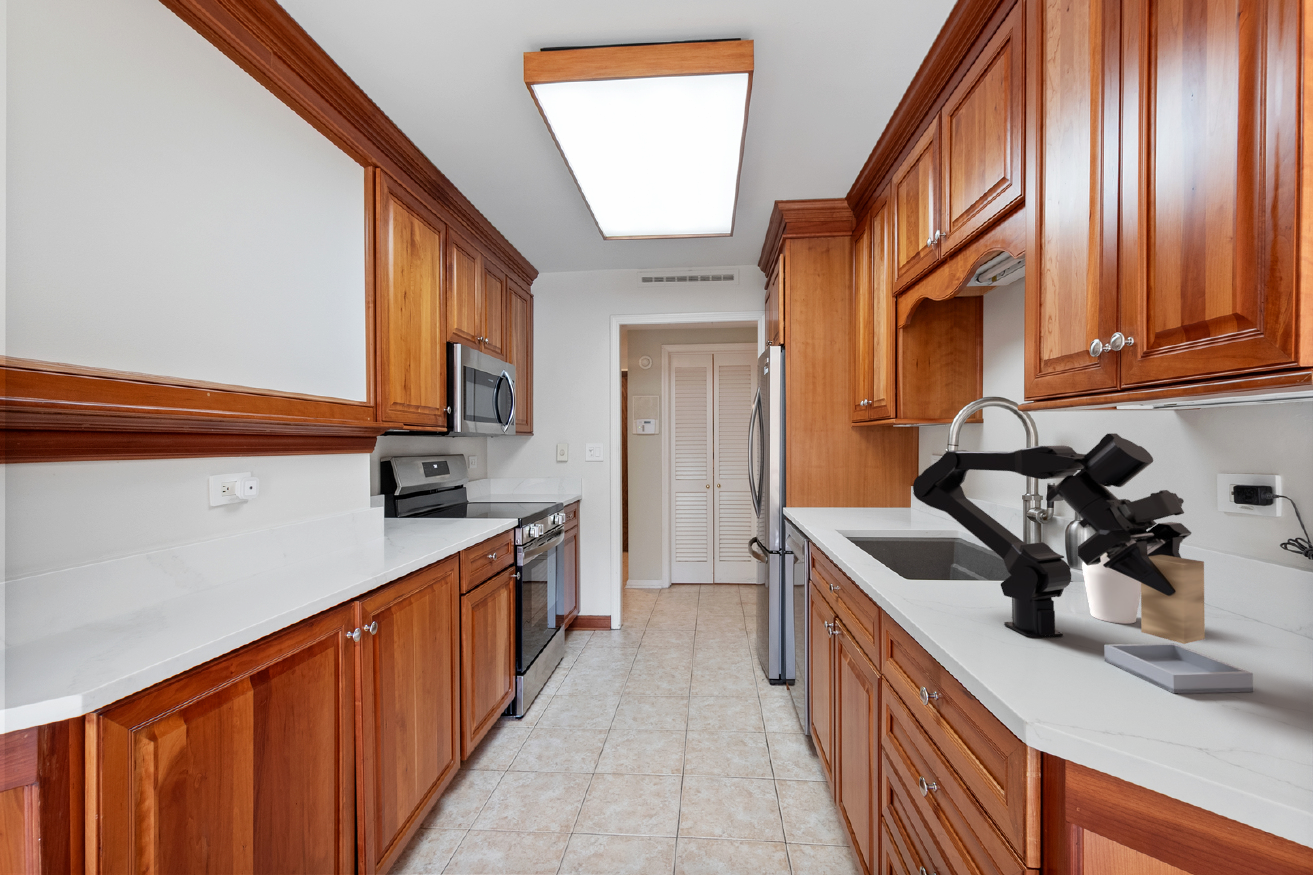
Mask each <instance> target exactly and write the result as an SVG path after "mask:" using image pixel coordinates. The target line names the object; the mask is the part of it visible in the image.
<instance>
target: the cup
mask: <svg viewBox="0 0 1313 875" xmlns="http://www.w3.org/2000/svg"><path fill="white" fill-rule="evenodd" d="M1107 555H1108V554H1107V553H1105V554H1103V555H1102V556H1100V559H1101V562H1100V563H1099V564H1095V565H1086V564H1085V563H1084V562H1083V561H1082V567H1081V568H1082V574H1083V579H1084V585H1085V590H1086V595H1087V596H1086V597H1087V601H1088V605H1089V607H1088V608H1089V612H1090V615H1091V616H1092V617H1093V618H1095V619H1097V620H1100V621H1104V622H1107V623H1115V624H1123V625H1124V624H1129V625H1131V624H1133V623H1136V622H1137V617H1138V613H1139V612H1138V611H1139V606H1140V601H1141V582H1139V581H1137V580H1135V579H1133V578H1130V577H1128V576H1126V575H1124V574H1122V573H1119V572H1117V571H1115V570H1113V569H1110V568H1105V567H1104V566H1103V564H1104V563H1106V562H1107V561H1109V560H1110V559H1109V558H1108V557H1107Z"/></svg>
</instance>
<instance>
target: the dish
mask: <svg viewBox="0 0 1313 875" xmlns="http://www.w3.org/2000/svg"><path fill="white" fill-rule="evenodd" d="M1103 647H1104V648H1103V649H1104V662H1106V663H1108V664H1110V663H1111V664H1110V665H1113V666H1115V667H1116V668H1119V669H1120V670H1123V671H1125V672H1126V673H1129V672H1130V673H1129V674H1131V673H1132V674H1131V675H1134V676H1136V677H1138V678H1139V679H1142V680H1144V681H1146V682H1148V681H1149V683H1150V682H1151V684H1152V683H1153V684H1152V685H1154V686H1157V685H1158V686H1157V687H1159V686H1160V687H1159V688H1162V689H1163V688H1164V689H1163V690H1165V689H1167V690H1168V692H1169V691H1170V692H1169V693H1171V692H1172V694H1174V693H1178V694H1207V693H1208V694H1212V693H1216V694H1218V693H1220V694H1221V693H1251V692H1254V684H1253V683H1254V676H1253V675H1254V674H1253V672H1250V671H1248V670H1246V669H1243V668H1240V667H1238V666H1235V665H1232V664H1229V663H1228V662H1227V663H1226V662H1225V661H1222V660H1219V659H1216V658H1214V657H1211V656H1208V655H1205V654H1203V653H1200V652H1197V651H1195V650H1192V649H1190V648H1188V647H1185V646H1182V645H1179V644H1176V643H1173V642H1172V643H1169V642H1168V643H1129V644H1128V643H1124V644H1123V643H1122V644H1104V646H1103ZM1167 690H1166V691H1167Z"/></svg>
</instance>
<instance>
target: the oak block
mask: <svg viewBox="0 0 1313 875" xmlns="http://www.w3.org/2000/svg"><path fill="white" fill-rule="evenodd" d="M1148 557H1149V558H1150V560H1151V561H1152V562H1153V563H1154V564H1155V566H1156V567H1157V568H1158V569H1159V570H1160V572H1161V573H1162V574H1163V575H1164V576H1165V578H1166V579H1167V580H1168V581H1169V583H1170V584H1171V585H1172V587H1173V588H1174V589H1175V591H1176V593H1174V594H1173V595H1171V596H1168V595H1165V594H1163V593H1161V592H1159V591H1157V590H1155V589H1153V588H1151V587H1149V586H1147V585H1145V584H1143V583H1141V594H1140V601H1141V602H1140V607H1141V608H1140V612H1141V615H1140V616H1141V618H1140V619H1141V620H1140V621H1141V623H1140V625H1141V627H1140V628H1141V630H1140V631H1141V633H1143V634H1146V635H1150V636H1154V637H1158V638H1161V639H1164V640H1168V641H1172V642H1176V643H1180V644H1184V645H1185V644H1190V643H1193V642H1197V641H1203V640H1205V639H1206V638H1205V637H1206V632H1205V631H1206V630H1205V626H1206V623H1205V620H1206V619H1205V617H1206V616H1205V562H1204V561H1203V560H1196V559H1191V558H1183V557H1181V558H1179V557H1172V556H1166V555H1155V556H1148Z"/></svg>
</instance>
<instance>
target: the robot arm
mask: <svg viewBox="0 0 1313 875" xmlns="http://www.w3.org/2000/svg"><path fill="white" fill-rule="evenodd" d="M1153 462H1154V458H1153V456H1152V455H1151V454H1150V452H1149V451H1148V450H1147V449H1145V448H1144V447H1143V446H1142V445H1138V444H1137V443H1134V442H1133V441H1131V440H1129V439H1126V438H1123V437H1122V436H1120V435H1119V434H1118V433H1106V434H1105V435H1104V436H1103V437H1102V438H1101V439H1100V441H1099V442H1098V443H1097V444H1096V445H1095V446H1094V447H1093V448H1091V450H1090V451H1088V452H1087V453H1086V454H1085V453H1079V452H1077V451H1075V450H1074V449H1073V447H1071V446H1069V445H1038V446H1033V447H1028V448H1026V447H1025V448H1021V449H1018V450H1017V449H1016V450H1013V451H1012V450H1011V451H971V450H970V451H969V450H965V449H961V450H959V449H957V450H956V449H953V450H948V451H946V452H945V453H944V454H943V455H942V456H941V457H940V458H939V459H938V460H937V461H936V462H934V463H932V464H931V465H929V467H927V468H926V469H924V470H923V471H922V473H921V474H920V475H918V476H917V477H916V478H915V479H914V480H913V484H912V491H913V492H912V493H913V496H914V497H915V498H916V499H917V500H918V501H920V502H921V503H922V504H925V505H926V506H928V507H929V508H933V509H936V510H938V511H942V512H944V513H946V514H948V515H949V516H950V517H952V519H954V520H955V521H956V522H957V523H958V524H959V525H961V526H962V527H964V528H965V530H967V531H968V532H969V533H970V534H972V535H973V536H975V538H977V539H978V540H979V541H981V543H983V544H984V545H985V546H986V547H988V548H989V549H990V550H991V551H992V552H994V553H995V555H997V556H999V558H1000V559H1002V561H1003V563H1004V565H1005V568H1006V570H1007V572H1008V574H1009V575H1010V576H1008V577H1007V578H1006V579H1004V580H1003V581H1002V582H1000V588H1001V590H1002V593H1003V596H1005V597H1008V598H1011V618H1012V619H1011V620H1012V621H1004V622H1003V624H1004V626H1006V627H1007V628H1009V629H1012V630H1014V631H1016V632H1018V633H1019V634H1021V635H1023V636H1026V637H1031V638H1032V637H1064V633H1063V632H1062V631H1059V630H1057V629H1056V612H1055V605H1054V604H1055V603H1054V602H1055V601H1054V600H1053V598H1060V597H1062V595H1063V592H1064V590H1065V588H1067V587H1068V586H1069V585H1070V583H1071V581H1072V572H1071V567H1070V566H1069V564H1068V563H1067V562H1066V561H1065V560H1064V559H1065V555H1062V554H1059V553H1057V552H1056V551H1054V550H1053V549H1052V548H1051V547H1050V546H1049V545H1048V544H1046V543H1045V542H1043V541H1042V542H1040V541H1039V542H1033V543H1032V542H1031V543H1027V542H1025V541H1023V540H1021V539H1020V538H1019V537H1018V536H1017V535H1015V534H1014V533H1012V532H1011V531H1010V530H1009V529H1007V528H1006V527H1005V526H1004V525H1002V524H1001V523H999V522H998V521H997V520H996V519H995V518H993V517H991V516H990V514H988V513H986V512H985V511H984V510H983V509H981V508H980V507H979V506H977V504H975V503H974V502H972V501H971V500H970V499H969V498H968V497H966V494H965V493H964V490H963V488H962V486H961V485H962V484H963V483H964V482H965V479H966V477H967V474H968V471H969V470H970V471H971V470H972V471H974V470H976V471H996V472H998V471H999V472H1000V471H1001V472H1012V473H1015V474H1019V475H1021V476H1025V477H1029V478H1033V479H1038V480H1055V479H1056V480H1057V479H1062V480H1060V481H1059V483H1057V484H1056V485H1055V484H1054V485H1053V484H1052V485H1048V486H1047V488H1046V489H1047V492H1046V497H1045V500H1046V502H1048V503H1049V502H1051V503H1052V502H1061V501H1063V500H1064V502H1065V503H1066V504H1067V505H1068V506H1069V507H1070V508H1071V509H1072V510H1073V511H1074V512H1075V513H1076V514H1077V515H1078V516H1079V517H1080V519H1082V520H1080V521H1079V522H1078V524H1079V525H1080V526H1081V527H1082V528H1083V529H1084V528H1087V529H1088V528H1090V529H1091V530H1092V531H1093V532H1094V533H1093V535H1091V536H1089V537H1088V538H1087V539H1086V540H1084V541H1083V542H1082V543H1080V544H1079V545H1077V556H1078V558H1080V559H1081V562H1082V563H1083V562H1084V563H1085V564H1086V565H1095V564H1099V563H1100V562H1101V559H1100V556H1102V555H1103V554H1105V553H1107V554H1108V555H1107V557H1108V558H1109V559H1110V560H1109V561H1107V562H1106V563H1104V564H1103V566H1104V567H1105V568H1110V569H1113V570H1115V571H1117V572H1119V573H1122V574H1124V575H1126V576H1128V577H1130V578H1133V579H1135V580H1137V581H1139V582H1141V583H1143V584H1145V585H1147V586H1149V587H1151V588H1153V589H1155V590H1157V591H1159V592H1161V593H1163V594H1165V595H1168V596H1171V595H1173V594H1174V593H1176V591H1175V589H1174V588H1173V587H1172V585H1171V584H1170V583H1169V581H1168V580H1167V579H1166V578H1165V576H1164V575H1163V574H1162V573H1161V572H1160V570H1159V569H1158V568H1157V567H1156V566H1155V564H1154V563H1153V562H1152V561H1151V560H1150V558H1149V557H1148V556H1155V555H1166V556H1172V557H1179V558H1182V556H1181V554H1180V546H1181V543H1182V542H1183V541H1184V540H1185V539H1186V538H1188V537H1189V536H1191V535H1192V531H1191V530H1189V528H1187V527H1186V526H1185V525H1184V524H1183V523H1182V522H1172V521H1170V522H1169V521H1167V522H1161V523H1157V522H1156V521H1157V520H1160V519H1164V518H1168V517H1171V516H1180V515H1184V514H1185V510H1184V509H1183V507H1182V506H1183V504H1184V503H1185V502H1184V499H1183V498H1181V497H1179V496H1178V494H1177V493H1174V492H1171V491H1169V490H1167V489H1163V490H1159V491H1158V492H1151V493H1150V495H1149V496H1145V497H1143V498H1139V499H1136V500H1133V501H1132V500H1130V499H1126V498H1123V499H1122V498H1121V499H1119V498H1118V497H1117V496H1115V495H1114V494H1113V492H1111V491H1110V490H1109V489H1108V488H1109V487H1112V486H1113V487H1117V488H1122V487H1124V486H1125V485H1126V484H1128V483H1129V482H1130V481H1131V480H1133V479H1134V478H1135V477H1136V476H1137V475H1138V474H1140V473H1141V472H1142V471H1144V470H1145V469H1146V468H1147V467H1148V466H1151V464H1152V463H1153Z"/></svg>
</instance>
